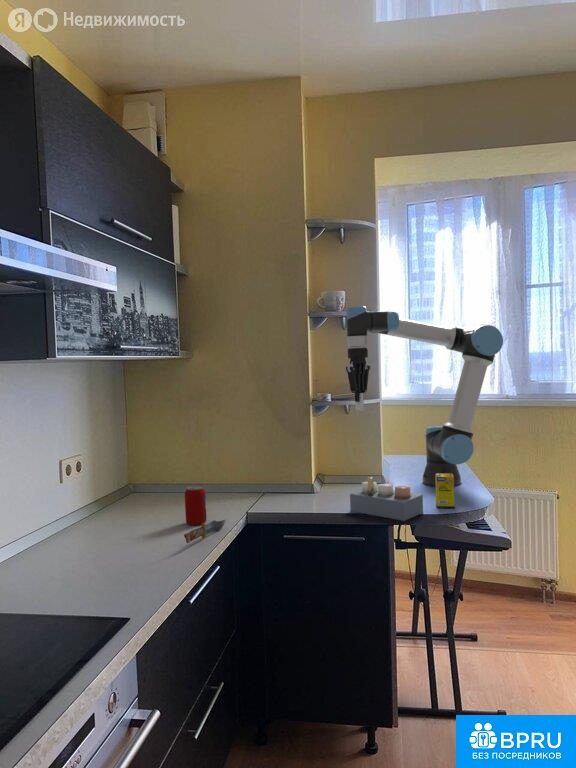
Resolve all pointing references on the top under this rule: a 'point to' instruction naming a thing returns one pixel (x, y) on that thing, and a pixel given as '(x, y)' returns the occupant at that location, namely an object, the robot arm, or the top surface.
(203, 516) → the beverage can
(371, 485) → the pot post
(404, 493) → the knob
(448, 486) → the supplement box
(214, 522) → the knife
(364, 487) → the knob
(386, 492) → the knob
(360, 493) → the mount
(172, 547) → the top surface
